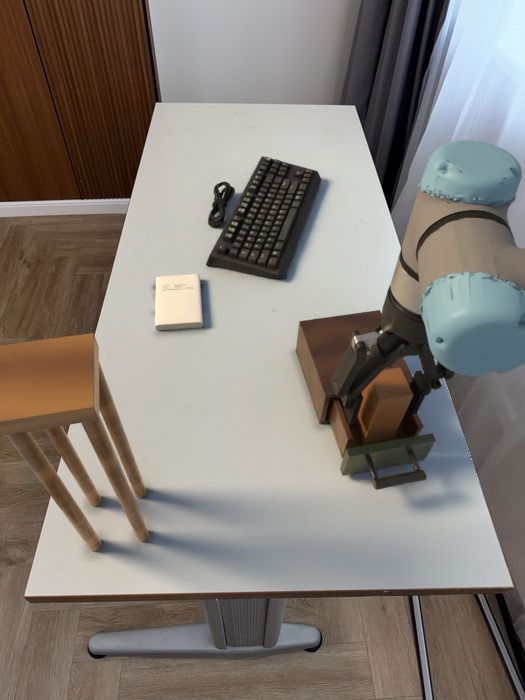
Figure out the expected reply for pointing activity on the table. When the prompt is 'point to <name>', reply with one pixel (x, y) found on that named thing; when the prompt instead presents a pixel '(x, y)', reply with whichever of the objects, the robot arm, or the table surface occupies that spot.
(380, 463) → the drawer
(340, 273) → the table surface
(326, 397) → the cabinet
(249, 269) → the keyboard
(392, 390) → the block
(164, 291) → the hard drive
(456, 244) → the robot arm
